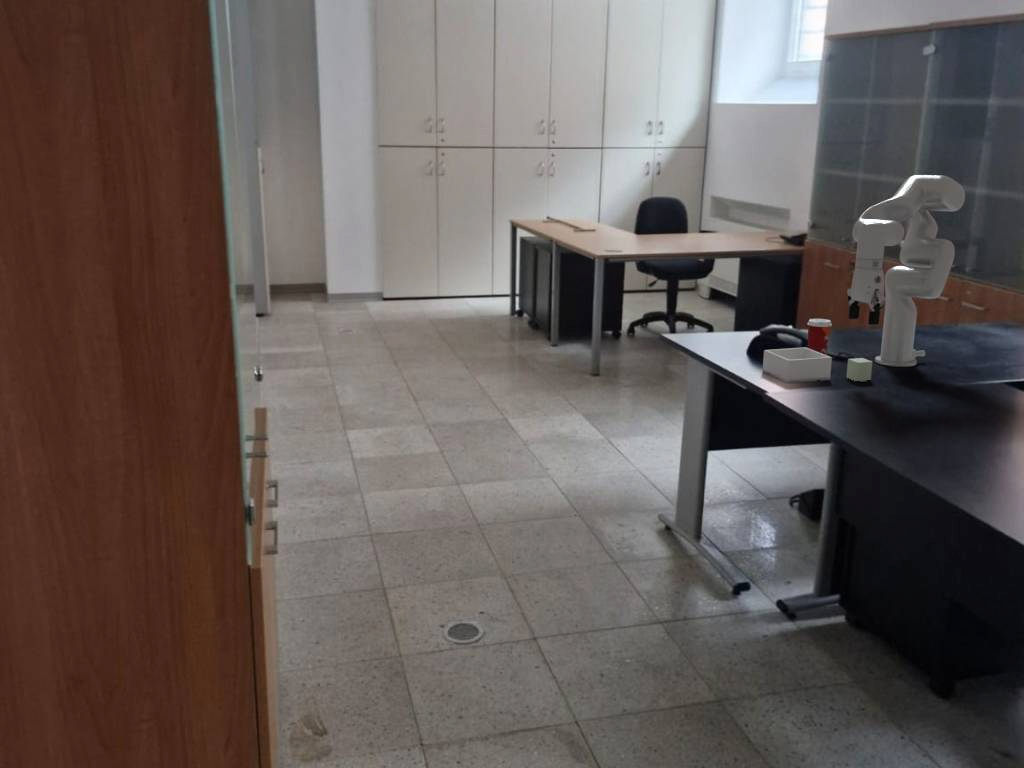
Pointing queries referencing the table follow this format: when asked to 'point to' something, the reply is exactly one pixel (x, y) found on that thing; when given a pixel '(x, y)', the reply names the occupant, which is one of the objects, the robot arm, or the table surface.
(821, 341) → the paper cup
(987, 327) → the table surface
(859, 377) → the green block
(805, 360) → the bin
